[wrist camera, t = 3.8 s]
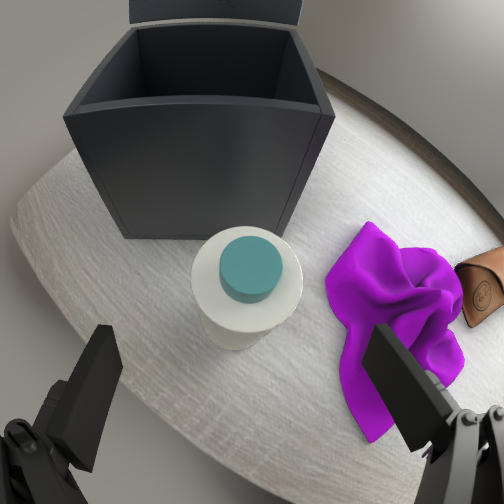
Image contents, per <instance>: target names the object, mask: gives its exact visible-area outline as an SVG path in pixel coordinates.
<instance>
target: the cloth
mask: <svg viewBox="0 0 504 504" xmlns="http://www.w3.org/2000/svg"><path fill="white" fill-rule="evenodd" d="M325 284H326V289H327V295H328V299H329V303H330V306H331V308H332V310H333V312H334V313H335V315H336V317H337V318H338V319H339V320H340V321H341V322H342V323H343V324H344V326H345V327H346V328H347V329H348V333H347V338H346V342H345V347H344V351H343V354H342V357H341V361H340V378H341V384H342V389H343V392H344V395H345V398H346V401H347V404H348V406H349V408H350V410H351V413H352V414H353V416H354V418H355V419H356V421H357V422H358V424H359V426H360V428H361V429H362V431H363V433H364V434H365V436H366V438H367V440H368V441H369V442H370V443H373V442H375V441H376V440H377V439H378V438H379V437H381V436H382V435H383V434H384V433H385V432H387V431H388V430H389V429H390V428H391V427H392V426H393V425H394V424H395V422H394V420H393V418H392V416H391V415H390V413H389V411H388V409H387V407H386V406H385V404H384V402H383V400H382V399H381V397H380V395H379V393H378V392H377V390H376V388H375V386H374V385H373V383H372V381H371V379H370V378H369V376H368V374H367V372H366V371H365V369H364V367H363V366H362V364H361V361H362V359H363V356H364V353H365V351H366V348H367V345H368V342H369V340H370V337H371V334H372V331H373V328H374V325H375V324H382V323H387V324H388V326H389V327H390V328H391V329H392V331H393V332H394V333H395V334H396V335H397V337H398V338H399V339H400V340H401V342H402V343H403V344H404V345H405V347H406V348H407V349H408V350H409V352H410V353H411V354H412V355H413V357H414V358H415V359H416V361H417V362H418V363H419V364H420V366H421V367H422V368H423V370H429V371H431V372H432V373H433V374H435V375H436V376H437V377H438V379H439V380H440V381H441V384H443V385H444V386H445V389H446V388H447V387H448V386H449V385H450V384H451V383H452V382H453V381H454V380H455V378H456V377H457V376H458V374H459V373H460V372H461V370H462V369H463V367H464V362H465V359H464V356H463V353H462V350H461V348H460V346H459V344H458V342H457V340H456V338H455V335H454V333H453V332H452V331H450V330H449V329H447V327H448V324H449V323H451V322H452V321H453V320H455V319H456V318H457V316H458V315H459V313H460V311H461V308H462V301H463V290H462V286H461V283H460V281H459V279H458V277H457V275H456V273H455V271H454V270H453V268H452V267H451V265H450V264H449V263H448V262H447V261H446V259H444V258H443V257H441V256H440V255H438V253H437V252H436V250H434V249H431V248H402V249H399V248H398V246H397V245H396V243H395V242H394V241H393V240H392V239H391V238H389V237H388V236H387V235H386V234H384V233H383V232H382V231H381V230H380V229H379V228H378V227H377V226H376V225H375V224H374V223H373V222H369V221H368V222H366V223H365V225H364V226H363V228H362V229H361V231H360V232H359V233H358V235H357V236H356V237H355V238H354V240H353V241H352V243H351V244H350V246H349V247H348V248H347V249H346V250H345V252H344V253H343V254H342V255H341V257H340V258H339V259H338V261H337V262H336V263H335V265H334V266H333V267H332V269H331V270H330V272H329V273H328V275H327V276H326V280H325Z"/></svg>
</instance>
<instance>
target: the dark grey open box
mask: <svg viewBox="0 0 504 504" xmlns="http://www.w3.org/2000/svg"><path fill="white" fill-rule="evenodd" d="M335 117H336V116H335V113H334V110H333V108H332V105H331V103H330V100H329V98H328V96H327V93H326V91H325V88H324V86H323V84H322V82H321V79H320V77H319V75H318V73H317V70H316V68H315V66H314V64H313V62H312V60H311V58H310V55H309V53H308V51H307V49H306V48H305V45H304V44H303V42H302V40H301V38H300V36H299V34H298V32H297V30H295V29H288V28H282V27H275V26H267V25H257V24H246V23H228V22H186V23H169V24H158V25H149V26H141V27H134V28H131V29H130V30H129V31H128V32H127V33H126V34H125V35H124V36H123V37H122V38H121V39H120V40H119V42H118V43H117V44H116V45H115V46H114V47H113V48H112V50H111V51H110V52H109V53H108V54H107V55H106V56H105V58H104V59H103V60H102V61H101V63H100V64H99V65H98V66H97V68H96V69H95V70H94V72H93V73H92V74H91V75H90V77H89V78H88V80H87V81H86V82H85V83H84V85H83V86H82V88H81V89H80V90H79V92H78V93H77V95H76V96H75V98H74V99H73V101H72V102H71V104H70V105H69V107H68V108H67V110H66V112H65V113H64V115H63V119H64V121H65V124H66V126H67V128H68V131H69V133H70V135H71V137H72V140H73V142H74V144H75V146H76V148H77V151H78V153H79V155H80V157H81V159H82V161H83V163H84V165H85V167H86V169H87V171H88V173H89V175H90V177H91V179H92V181H93V183H94V185H95V187H96V188H97V190H98V192H99V194H100V196H101V198H102V200H103V201H104V203H105V205H106V207H107V209H108V210H109V212H110V214H111V216H112V218H113V219H114V221H115V223H116V224H117V226H118V228H119V230H120V231H121V233H122V234H123V236H124V238H130V239H197V240H208V239H210V238H211V237H212V236H214V235H215V234H217V233H219V232H221V231H223V230H226V229H229V228H233V227H240V226H249V227H257V228H261V229H264V230H267V231H269V232H271V233H273V234H275V235H277V236H278V237H280V238H281V237H282V235H283V233H284V231H285V228H286V226H287V224H288V222H289V220H290V218H291V215H292V213H293V211H294V209H295V207H296V205H297V202H298V200H299V198H300V196H301V194H302V191H303V189H304V187H305V185H306V182H307V180H308V178H309V176H310V174H311V171H312V169H313V167H314V165H315V162H316V160H317V158H318V156H319V153H320V151H321V149H322V147H323V144H324V142H325V140H326V137H327V135H328V133H329V131H330V128H331V126H332V124H333V121H334V119H335Z"/></svg>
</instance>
